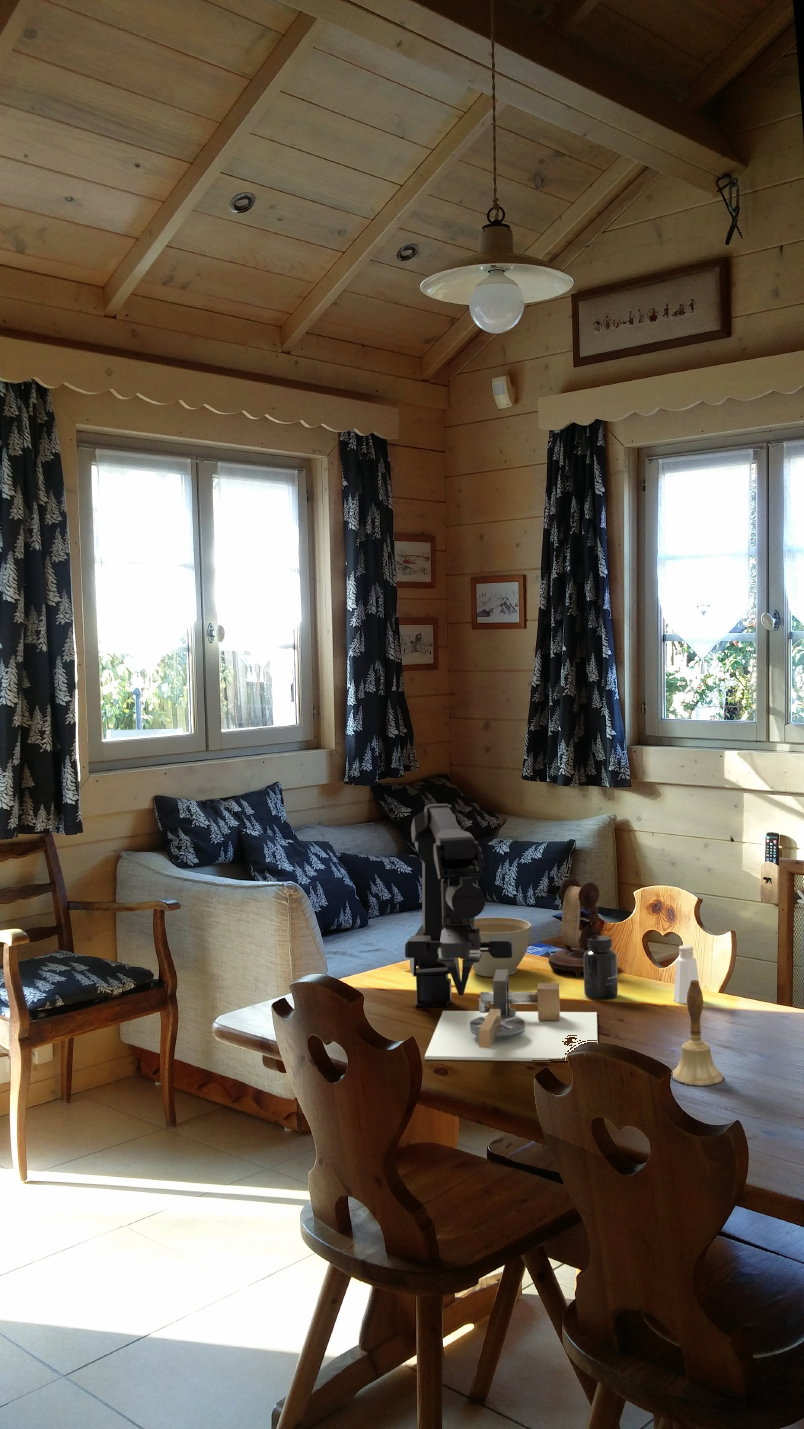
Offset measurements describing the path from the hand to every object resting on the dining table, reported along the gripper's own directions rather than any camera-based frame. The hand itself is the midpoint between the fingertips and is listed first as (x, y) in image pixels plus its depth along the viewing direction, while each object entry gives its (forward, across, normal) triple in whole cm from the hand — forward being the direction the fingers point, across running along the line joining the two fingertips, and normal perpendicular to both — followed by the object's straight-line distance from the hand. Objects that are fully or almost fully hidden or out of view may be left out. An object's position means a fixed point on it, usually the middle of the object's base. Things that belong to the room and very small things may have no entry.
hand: (461, 995), depth 210 cm
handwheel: (+9, +5, +5) cm, 11 cm away
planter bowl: (+11, +1, +56) cm, 57 cm away
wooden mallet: (+10, +9, +20) cm, 24 cm away
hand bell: (+11, +39, -9) cm, 42 cm away
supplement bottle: (+11, +24, +38) cm, 47 cm away
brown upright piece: (+11, +20, +59) cm, 64 cm away
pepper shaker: (+11, +41, +35) cm, 55 cm away
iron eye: (+11, +5, +20) cm, 24 cm away
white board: (+11, +8, +11) cm, 18 cm away
